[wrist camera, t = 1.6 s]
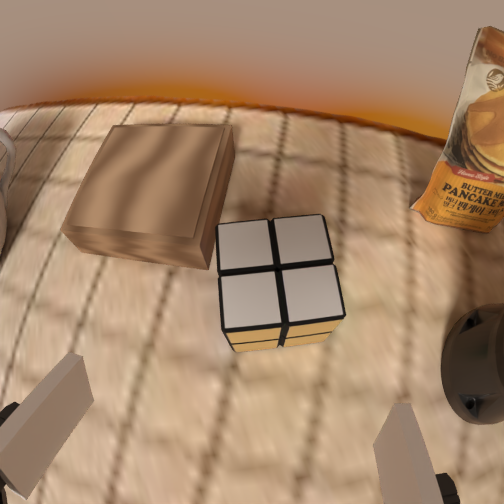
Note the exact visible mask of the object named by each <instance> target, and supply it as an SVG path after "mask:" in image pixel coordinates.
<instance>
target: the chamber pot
mask: <svg viewBox="0 0 504 504" xmlns="http://www.w3.org/2000/svg"><path fill="white" fill-rule="evenodd" d="M0 141H1V142H2V143H3V145H4V146H5V147H6V149H7V152H8V155H7V164H6V168H5V170H4V173H3V175H2V178H1V180H0V256H1V252H2V249H3V246H4V243H5V237H6V230H7V218H6V208H7V194H8V187H9V183H10V179H11V176H12V173H13V170H14V167H15V158H16V147H15V144H14V141H13V139H12V137H11V136H10V135H9V134H8V132H7V131H6V130H4V129H2V128H0Z"/></svg>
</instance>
